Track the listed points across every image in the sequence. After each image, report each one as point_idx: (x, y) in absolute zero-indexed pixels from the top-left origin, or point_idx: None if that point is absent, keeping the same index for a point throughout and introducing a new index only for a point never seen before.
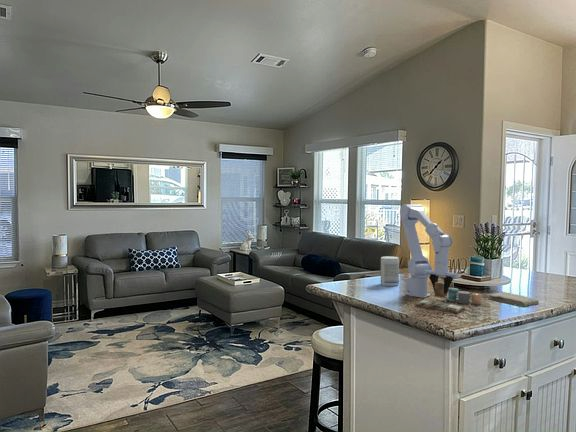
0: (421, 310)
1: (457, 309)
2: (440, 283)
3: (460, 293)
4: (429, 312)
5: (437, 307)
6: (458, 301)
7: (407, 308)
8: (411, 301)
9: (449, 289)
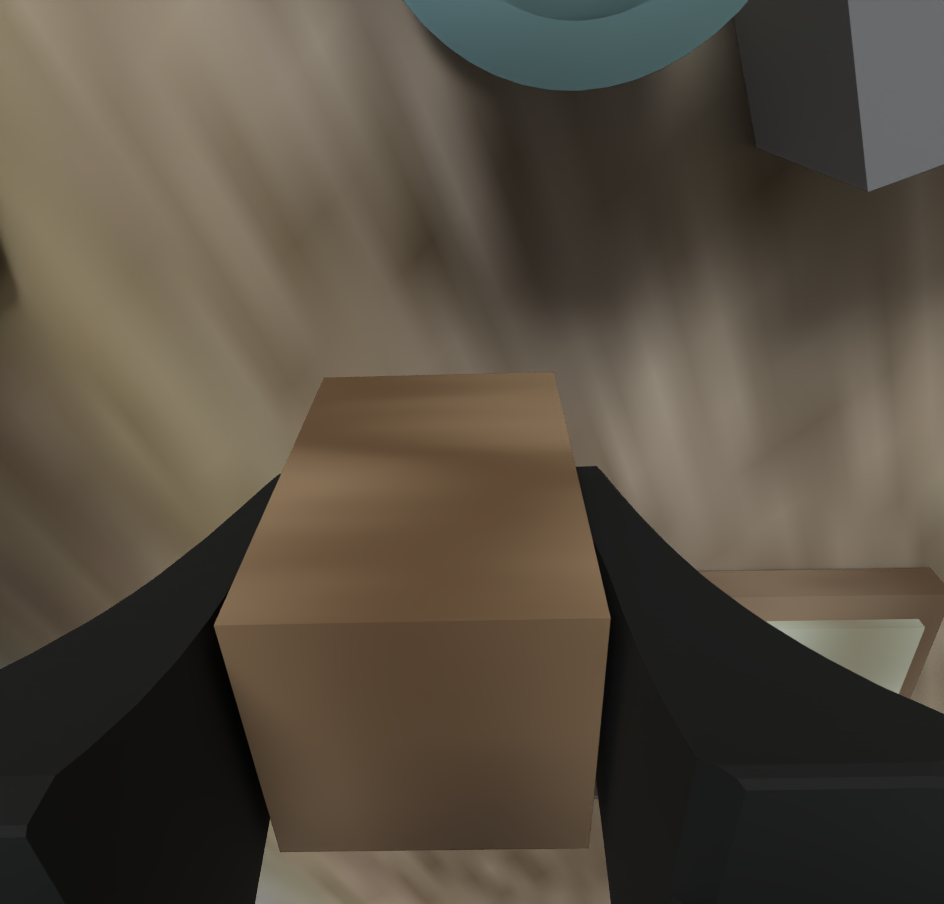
0: (452, 862)
1: None
2: (476, 847)
3: (928, 169)
4: (556, 874)
5: (594, 798)
6: (771, 149)
7: (295, 877)
8: (74, 620)
9: (512, 31)
